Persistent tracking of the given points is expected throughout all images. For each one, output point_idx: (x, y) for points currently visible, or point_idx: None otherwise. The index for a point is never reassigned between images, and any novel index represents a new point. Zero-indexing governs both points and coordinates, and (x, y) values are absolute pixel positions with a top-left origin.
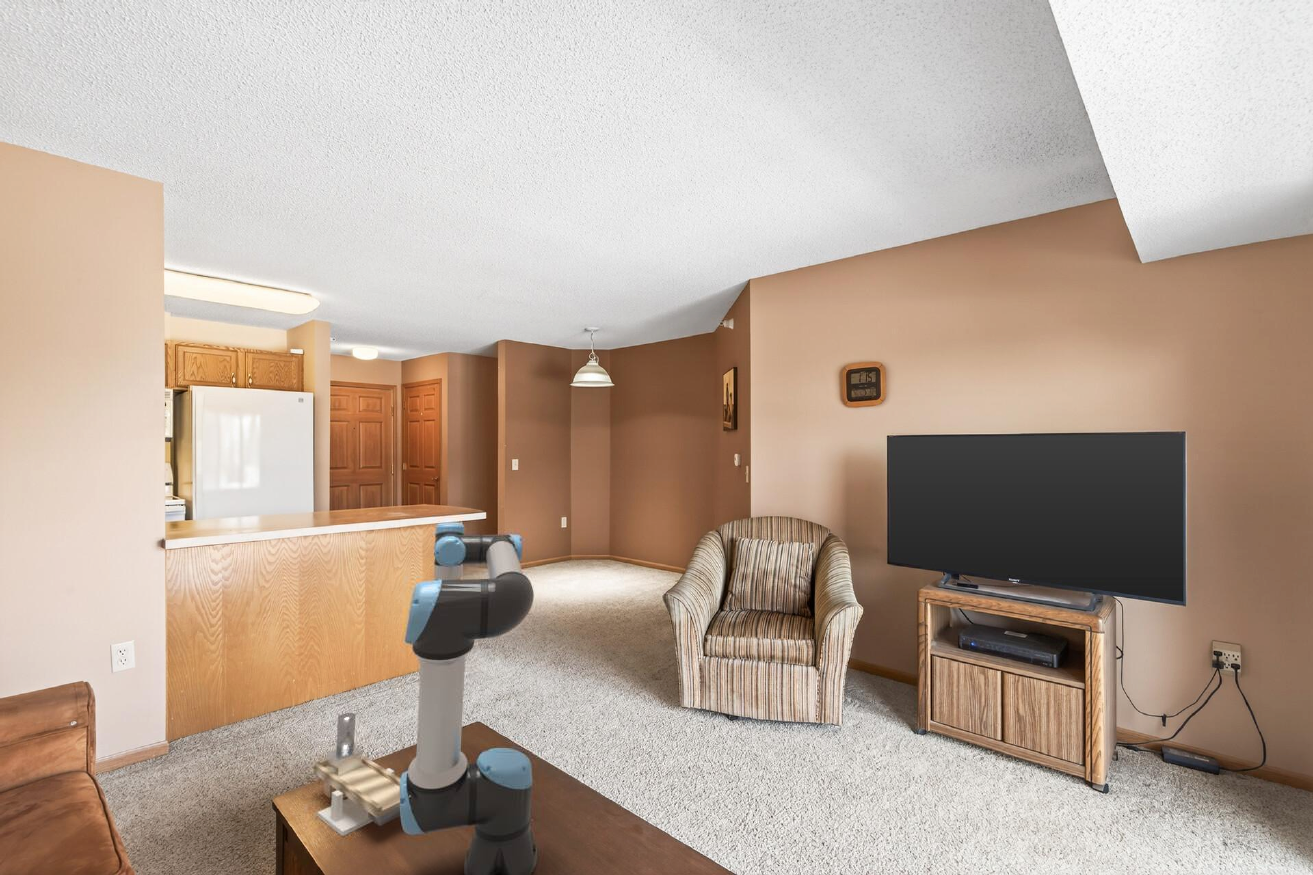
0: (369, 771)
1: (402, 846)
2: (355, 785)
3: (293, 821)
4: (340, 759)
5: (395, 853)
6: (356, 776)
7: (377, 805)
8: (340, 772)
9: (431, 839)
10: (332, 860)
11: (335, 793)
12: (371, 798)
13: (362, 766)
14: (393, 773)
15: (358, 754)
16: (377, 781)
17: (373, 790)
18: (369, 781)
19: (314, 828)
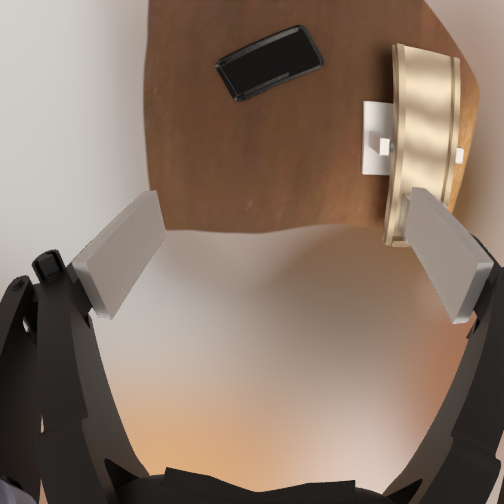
0: (405, 169)
1: (413, 29)
2: (439, 150)
3: (458, 191)
4: (445, 206)
5: (425, 27)
6: (424, 172)
7: (456, 64)
8: (435, 197)
9: (381, 7)
10: (472, 83)
11: (461, 156)
12: (445, 96)
13: (401, 193)
14: (380, 137)
15: None
16: (415, 131)
17: (433, 112)
18: (422, 141)
19: None
